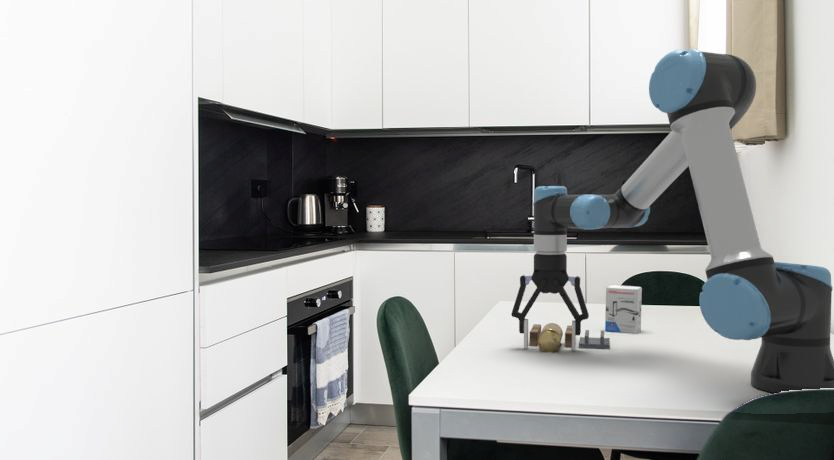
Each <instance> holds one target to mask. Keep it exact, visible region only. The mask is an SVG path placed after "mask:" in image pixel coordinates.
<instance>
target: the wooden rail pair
mask: <svg viewBox="0 0 834 460" xmlns="http://www.w3.org/2000/svg"><path fill="white" fill-rule="evenodd" d="M541 332H542V324H533V326H532V327H531V329H530V331H529V346H530V347H531V346H532V347H533V346H534V347H537V346H539V345H538V338H539V336H540V334H541ZM564 348H572V325H566V329H565V332H564Z"/></svg>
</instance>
